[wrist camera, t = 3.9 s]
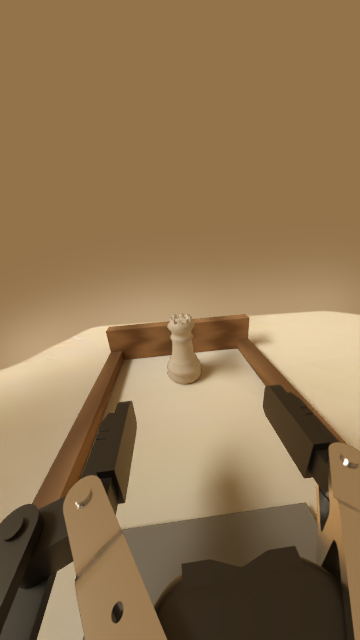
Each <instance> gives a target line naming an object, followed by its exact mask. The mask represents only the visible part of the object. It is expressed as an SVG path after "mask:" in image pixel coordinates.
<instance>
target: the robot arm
mask: <svg viewBox="0 0 360 640" xmlns="http://www.w3.org/2000/svg"><path fill="white" fill-rule="evenodd" d="M263 409H264V412H265V415H266V417H267V418H268V420H269V422H270V423H271V425H272V427H273V428H274V430H275V431H276V433H277V435H278V436H279V438H280V440H281V441H282V443H283V445H284V446H285V448H286V449H287V451H288V453H289V454H290V456H291V458H292V459H293V461H294V463H295V464H296V466H297V467H298V469H299V471H300V472H301V474H302V476H303V477H304V478H311V477H313V478H314V479H315V481H316V482H317V486H316V494H317V524H318V540H317V548H316V563H314V562H312V561H310V560H308V559H305V558H303V557H300V556H299V554H298V551H297V549H296V547H295V546H290V547H284V548H277V549H271V550H267V551H266V552H264V553H263V554H261V555H260V556H258V557H257V558H255V559H254V560H252V561H251V562H249V563H248V564H246V565H245V566H243V567H239V566H235V565H231V564H227V563H223V562H219V561H215V560H211V559H208V560H202V561H195V562H189V563H183V564H181V566H182V574H181V575H179V576H178V577H176V578H175V579H174V580H173V581H172V582H171V583H169V585H168V586H167V587H166V588H165V589H164V591H163V592H162V594H161V595H160V597H159V598H158V600H157V601H156V603H155V605H154V607H153V604H152V602H151V600H150V597H149V595H148V592H147V590H146V587H145V585H144V583H143V580H142V578H141V575H140V573H139V571H138V568H137V566H136V563H135V561H134V558H133V556H132V554H131V551H130V549H129V546H128V544H127V542H126V539H125V537H124V534H123V532H122V530H121V528H120V526H119V523H118V521H117V518H116V511H117V505H118V504H120V503H125V500H126V493H127V487H128V481H129V475H130V468H131V462H132V456H133V449H134V443H135V437H136V429H137V422H136V417H135V412H134V408H133V403H132V401H127V402H119V403H118V404H117V407H116V410H115V413H109V414H108V415H107V416H106V418H105V419H104V420H103V421H102V423H101V426H100V429H99V433H98V434H97V437H96V441H95V442H94V445H93V448H92V451H91V453H90V456H89V459H88V462H87V464H86V467H85V470H84V472H83V475H82V477H81V479H80V480H79V481H78V482H76V483H75V484H74V485H73V487H72V488H71V489H70V490H69V492H68V494H67V495H65V496H64V497H62V498H60V499H58V500H56V501H54V502H52V503H50V504H48V505H46V506H44V507H42V508H40V509H38V508H37V507H36V506H35V505H33V504H27V505H23V506H21V507H19V508H17V509H16V510H14V511H13V512H12V513H10V514H9V515H8V516H7V517H6V518H5V519H4V520H3V521H2V522H1V524H0V640H37V636H38V633H39V630H40V626H41V623H42V620H43V616H44V613H45V610H46V606H47V603H48V600H49V596H50V593H51V590H52V586H53V583H54V580H55V577H56V573H57V571H58V570H60V569H62V568H63V567H65V566H66V565H68V564H70V563H71V562H73V561H74V566H75V571H76V579H75V589H76V595H77V601H78V606H79V611H80V616H81V621H82V626H83V631H84V636H85V640H360V452H359V451H358V450H357V449H355V448H353V447H352V446H349V445H347V444H344V443H341V442H340V441H339V440H338V439H337V438H336V437H335V436H334V435H333V434H332V433H331V432H330V431H329V429H328V428H327V427H326V426H325V425H324V424H323V423H322V422H321V421H320V420H319V418H318V417H317V416H316V415H314V414H313V412H312V411H311V410H310V409H309V408H308V407H307V405H306V404H305V403H304V402H303V401H302V400H301V399H300V398H299V397H297V396H296V395H294V394H293V393H291V392H289V393H287V392H286V390H285V389H284V388H283V387H282V386H281V385H280V384H276V385H267V386H266V387H265V392H264V400H263Z"/></svg>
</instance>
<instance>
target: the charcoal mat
mask: <svg viewBox="0 0 360 640" xmlns="http://www.w3.org/2000/svg"><path fill="white" fill-rule="evenodd" d="M122 532H123V534H124V537H125V539H126V542H127V544H128V546H129V549H130V551H131V554H132V556H133V558H134V561H135V563H136V566H137V568H138V571H139V573H140V575H141V578H142V580H143V583H144V585H145V587H146V590H147V592H148V595H149V597H150V600H151V602H152V604H153V607H154V605H155V603H156V601H157V600H158V598H159V597H160V595H161V594H162V592H163V591H164V589H165V588H166V587H167V586H168V585H169V583H171V582H172V581H173V580H174V579H175V578H176V577H178V576H179V575H181V574H182V566H181V564H183V563H189V562H195V561H202V560H208V559H211V560H215V561H219V562H223V563H227V564H231V565H235V566H239V567H243V566H245V565H246V564H248V563H249V562H251V561H252V560H254V559H255V558H257V557H258V556H260V555H261V554H263V553H264V552H266V551H267V550H271V549H277V548H284V547H290V546H295V547H296V549H297V551H298V554H299V556H300V557H303V558H305V559H308V560H310V561H312V562H314V563H316V548H317V540H318V524H317V522H316V520H315V518H314V516H313V514H312V513H311V511H310V509H309V507H308V506H307V504H306V503H299V504H293V505H286V506H279V507H272V508H266V509H259V510H252V511H245V512H239V513H232V514H225V515H218V516H211V517H205V518H198V519H191V520H184V521H178V522H171V523H164V524H157V525H151V526H144V527H137V528H130V529H124V530H122ZM83 640H85V636H84V637H83Z"/></svg>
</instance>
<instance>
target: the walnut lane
mask: <svg viewBox="0 0 360 640" xmlns="http://www.w3.org/2000/svg"><path fill="white" fill-rule="evenodd" d="M191 320H192V321H193V322H194V323H195V326H194V327H193V329H192V330H191V333H192V334H193V338H192V345H193V350H194V352H203V351H212V350H222V349H232V348H238V349H239V351H240V352H241V353H242V355H243V356H244V358H245V359H246V360H247V362H248V363H249V364H250V366H251V367H252V368H253V370H254V371H255V372H256V374H257V375H258V376H259V378H260V379H261V380H262V382H263V383H264V384H265V386H267V385H276V384H280V385H281V386H282V387H283V388H284V389H285V390H286V392H287V393H289V392H291V393H293V394H294V395H296V396H297V397H299V398H300V399H301V400H302V401H303V402H304V403H305V404H306V405H307V407H308V408H309V409H310V410H311V411H312V412H313V414H314V415H316V416H317V417H318V418H319V420H320V421H321V422H322V423H323V424H324V425H325V426H326V427H327V428H328V429H329V431H330V432H331V433H332V434H333V435H334V436H335V437H336V438H337V439H338V440H339V441H340V442H341V443H344V444H346V443H345V442H344V441H343V440H342V438H341V437H340V436H339V435H338V434H337V433H336V432H335V431H334V430H333V429H332V428H331V427H330V426H329V425H328V424H327V422H326V421H325V420H324V419H323V418H322V417H321V416H320V415H319V414H318V413H317V412H316V411H315V410H314V409H313V408H312V406H311V405H310V404H309V403H308V402H307V401H306V400H305V399H304V398H303V397H302V396H301V395H300V394H299V393H298V392H297V391H296V389H295V388H294V387H293V386H292V385H291V384H290V383H289V382H288V381H287V380H286V379H285V378H284V377H283V376H282V375H281V373H280V372H279V371H278V370H277V369H276V368H275V367H274V366H273V365H272V364H271V363H270V362H269V361H268V360H267V359H266V357H265V356H264V355H263V354H262V353H261V352H260V351H259V350H258V349H257V348H256V347H255V346H254V345H253V344H252V343H251V341H250V340H249V339H248V329H249V317H248V316H246V315H245V314H243V315H232V316H221V317H210V318H200V319H191ZM169 322H170V321H168V322H157V323H147V324H136V325H125V326H115V327H109V328H108V329H107V331H106V333H107V338H108V342H109V346H110V350H111V353H110V355H109V357H108V359H107V361H106V363H105V365H104V367H103V369H102V371H101V373H100V374H99V376H98V378H97V380H96V382H95V384H94V386H93V388H92V390H91V392H90V394H89V396H88V397H87V399H86V401H85V403H84V405H83V407H82V409H81V411H80V413H79V415H78V417H77V419H76V421H75V422H74V424H73V426H72V428H71V430H70V432H69V434H68V436H67V438H66V440H65V442H64V444H63V445H62V447H61V449H60V451H59V453H58V455H57V457H56V459H55V461H54V463H53V465H52V467H51V468H50V470H49V472H48V474H47V476H46V478H45V480H44V482H43V484H42V486H41V488H40V490H39V491H38V493H37V495H36V497H35V499H34V501H33V503H32V504H33V505H35V506H36V507H37V508H38V509H40V508H42V507H44V506H46V505H48V504H50V503H52V502H54V501H56V500H58V499H60V498H62V497H64V496H65V495H67V494H68V492H69V490H70V489H71V488H72V487H73V485H74V484H75V483H76V482H78V480H79V478H80V475H81V472H82V470H83V467H84V464H85V462H86V459H87V456H88V454H89V451H90V448H91V445H92V443H93V440H94V437H95V435H96V432H97V429H98V427H99V424H100V421H101V419H102V416H103V413H104V411H105V408H106V405H107V403H108V400H109V397H110V395H111V392H112V389H113V387H114V384H115V381H116V378H117V376H118V373H119V370H120V368H121V365H122V362H123V360H125V359H135V358H144V357H154V356H164V355H172V346H173V344H172V340H171V338H170V337H171V335H172V332H171V331H170V330H169V329H168V327H167V325H168V323H169Z"/></svg>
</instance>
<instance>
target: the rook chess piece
mask: <svg viewBox="0 0 360 640" xmlns="http://www.w3.org/2000/svg"><path fill="white" fill-rule="evenodd" d="M194 326H195V323H194V322H193V321H192V320H191V316H190V315H188V314H186V315H185V317H183V314H179V317H178V318H177V317H176V315H173V316H172V317H170V322H169V323H168V325H167V327H168V329H169V330H170V331H171V332H172V335H171V337H170V338H171V340H172V344H173V346H172V356H171V357H170V360H169V362H168V366H167V368H168V373H167V374H168V376H169V378H170V379H172V380H173V381H174V382H176V383H179V384H188V383H192V382H194V381H195V380H197V379H198V378H199V376H200V374H201V368H200V367H201V365H200V361H199V359H198V358H197V356H196V355H195V353H194V350H193V345H192V338H193V334H192V333H191V330H192V329H193V327H194Z"/></svg>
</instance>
